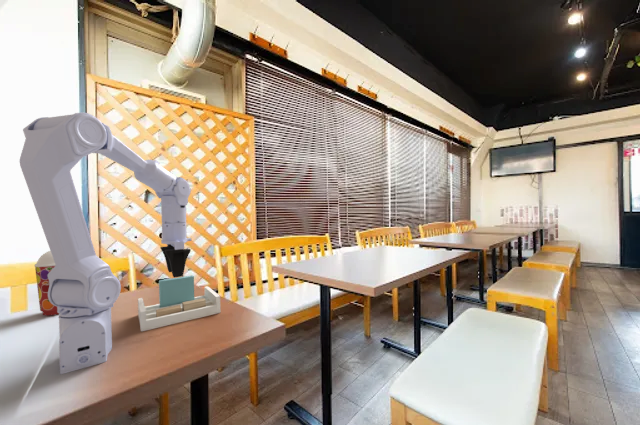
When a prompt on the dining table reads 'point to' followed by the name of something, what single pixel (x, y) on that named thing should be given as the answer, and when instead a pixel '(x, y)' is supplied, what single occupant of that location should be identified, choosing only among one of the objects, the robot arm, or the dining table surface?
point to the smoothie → (45, 283)
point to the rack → (151, 321)
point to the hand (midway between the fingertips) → (175, 274)
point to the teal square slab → (176, 290)
